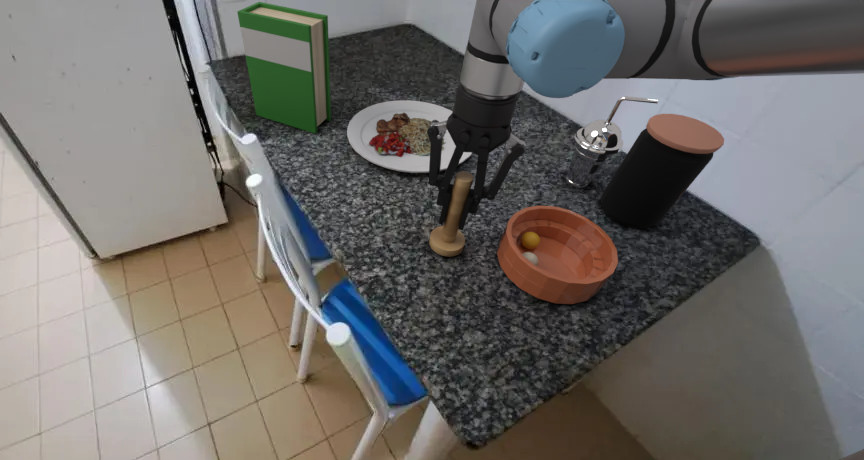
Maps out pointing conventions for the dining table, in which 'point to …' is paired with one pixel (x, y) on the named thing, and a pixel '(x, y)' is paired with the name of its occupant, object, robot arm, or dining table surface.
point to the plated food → (400, 135)
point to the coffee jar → (659, 169)
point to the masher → (453, 219)
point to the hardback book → (287, 64)
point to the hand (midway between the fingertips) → (452, 221)
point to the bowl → (557, 254)
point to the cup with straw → (596, 146)
